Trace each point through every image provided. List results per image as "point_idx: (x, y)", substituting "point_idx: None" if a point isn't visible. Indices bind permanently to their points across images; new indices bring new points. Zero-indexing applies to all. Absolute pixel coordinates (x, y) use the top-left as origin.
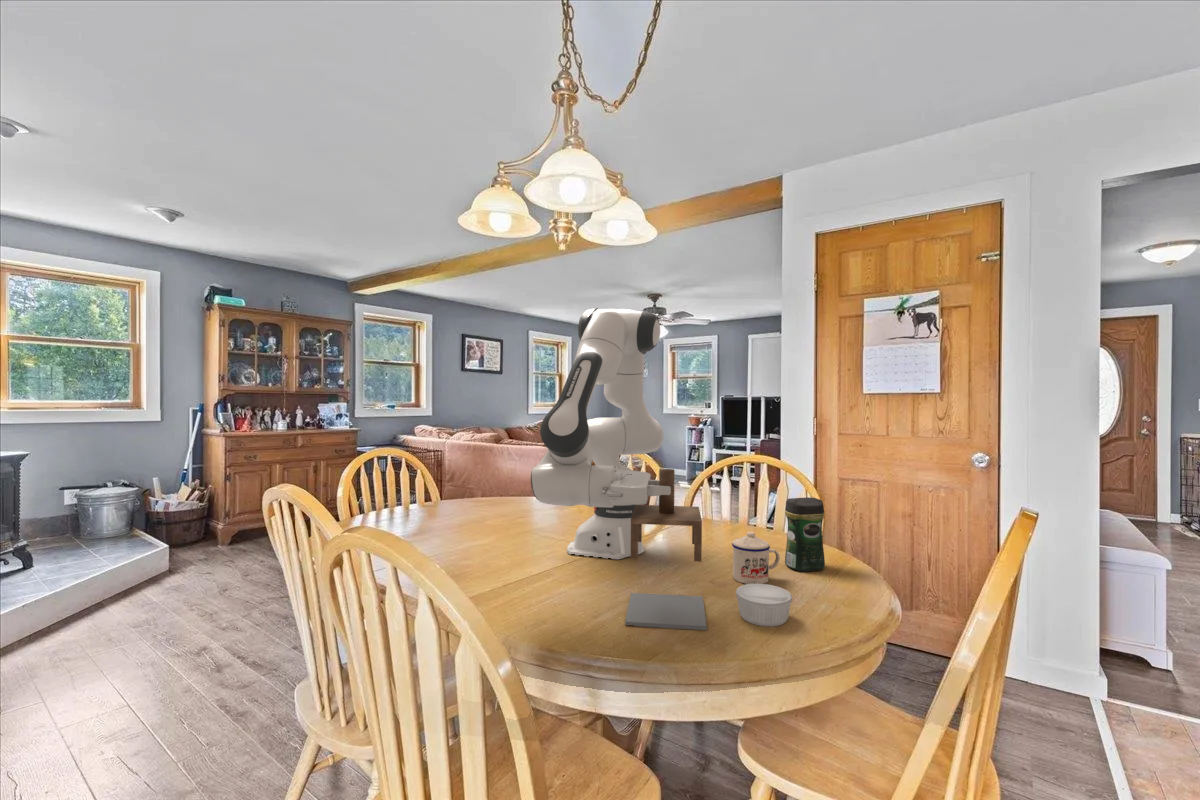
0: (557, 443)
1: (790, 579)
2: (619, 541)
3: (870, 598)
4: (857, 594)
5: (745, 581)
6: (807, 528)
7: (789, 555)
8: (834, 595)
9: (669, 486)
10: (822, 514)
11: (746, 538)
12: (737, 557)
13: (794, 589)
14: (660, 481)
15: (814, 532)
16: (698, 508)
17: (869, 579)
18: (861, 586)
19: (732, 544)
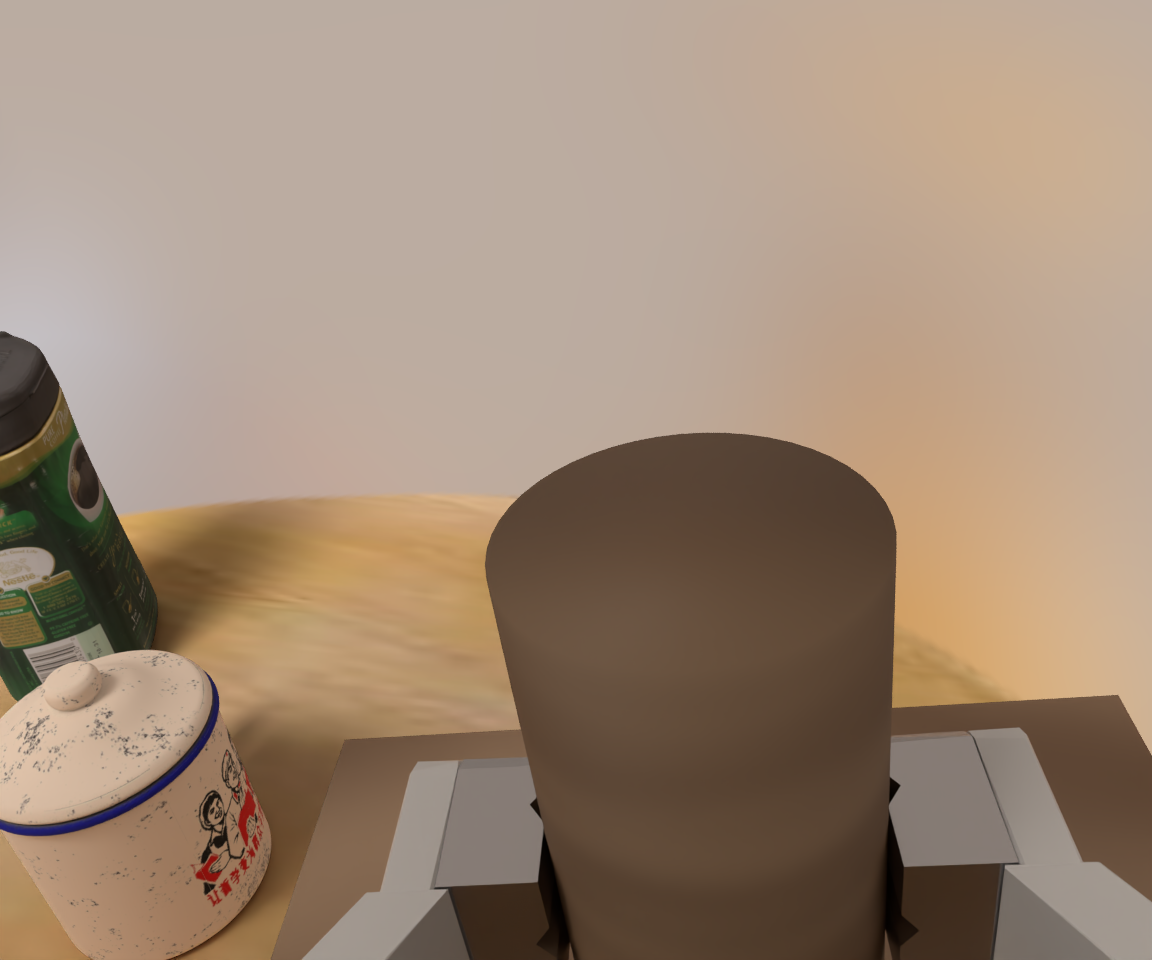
0: None
1: (225, 714)
2: None
3: (471, 528)
4: (431, 550)
5: (242, 899)
6: (77, 481)
7: (62, 653)
8: (438, 605)
9: (1005, 732)
10: (60, 387)
11: (96, 720)
12: (144, 851)
13: (357, 713)
14: (836, 859)
15: (92, 480)
16: (441, 739)
17: (287, 508)
18: (353, 532)
19: (46, 829)
